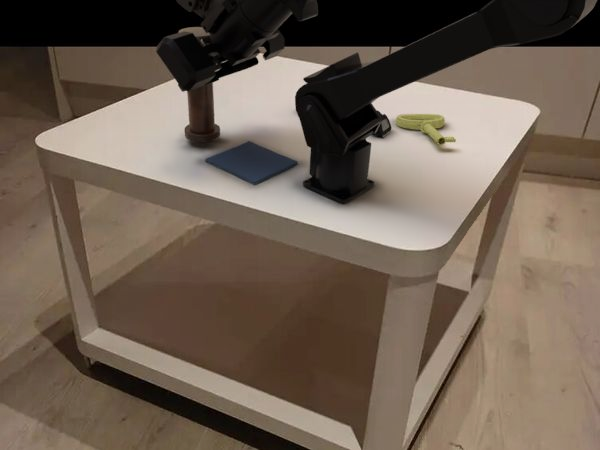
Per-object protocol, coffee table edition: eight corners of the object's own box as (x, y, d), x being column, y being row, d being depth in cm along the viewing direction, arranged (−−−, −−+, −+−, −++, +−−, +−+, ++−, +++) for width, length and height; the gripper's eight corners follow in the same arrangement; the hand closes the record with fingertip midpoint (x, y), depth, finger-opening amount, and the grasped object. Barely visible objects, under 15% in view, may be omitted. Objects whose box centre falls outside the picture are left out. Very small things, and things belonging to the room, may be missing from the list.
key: (438, 154, 85) (441, 139, 84) (389, 121, 94) (391, 108, 93) (480, 146, 87) (483, 132, 86) (428, 115, 97) (430, 102, 96)
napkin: (298, 164, 81) (298, 161, 80) (254, 184, 75) (254, 182, 75) (249, 143, 85) (249, 140, 85) (205, 161, 80) (205, 158, 80)
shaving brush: (221, 128, 87) (217, 27, 80) (218, 142, 83) (214, 37, 76) (187, 127, 87) (180, 26, 80) (182, 141, 83) (175, 36, 76)
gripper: (266, -57, 77) (203, 19, 88) (161, -39, 64) (101, 48, 75) (317, 17, 78) (248, 84, 89) (223, 51, 65) (155, 125, 75)
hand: (192, 83), depth 82 cm, fingers closed on shaving brush, 4 cm apart
